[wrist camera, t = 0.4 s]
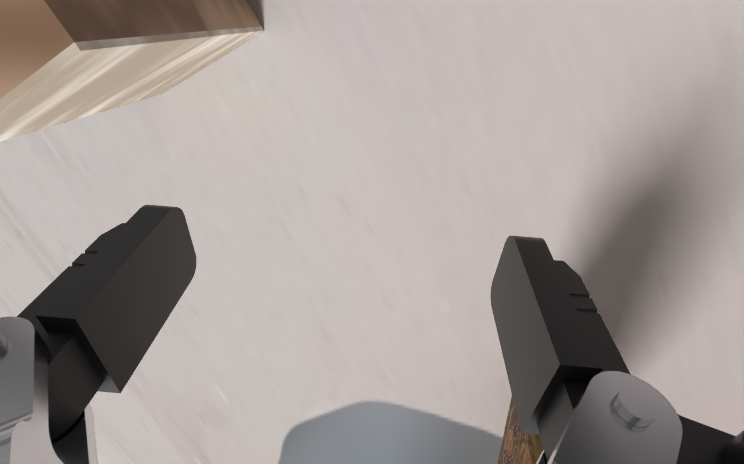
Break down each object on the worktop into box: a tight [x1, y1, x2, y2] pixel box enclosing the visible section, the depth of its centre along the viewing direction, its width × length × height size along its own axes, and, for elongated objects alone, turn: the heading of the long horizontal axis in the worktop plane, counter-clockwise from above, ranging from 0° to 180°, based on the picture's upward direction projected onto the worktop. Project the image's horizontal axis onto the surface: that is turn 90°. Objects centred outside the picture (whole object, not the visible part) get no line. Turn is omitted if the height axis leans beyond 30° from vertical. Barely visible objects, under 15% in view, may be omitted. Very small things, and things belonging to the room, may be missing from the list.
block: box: [0, 0, 264, 141], centre depth 21 cm, size 4×10×16 cm, turn 116°
